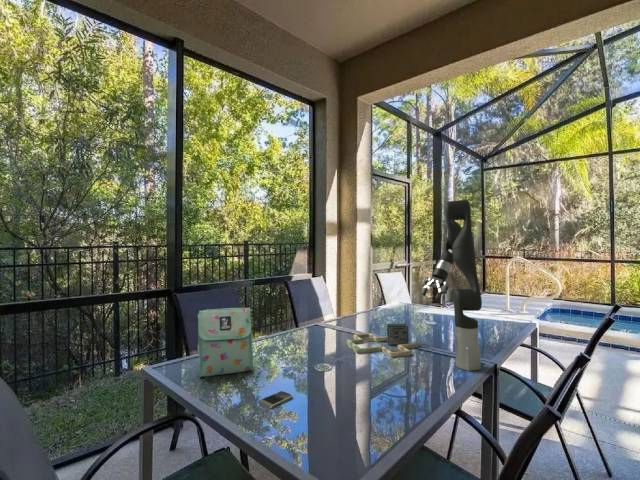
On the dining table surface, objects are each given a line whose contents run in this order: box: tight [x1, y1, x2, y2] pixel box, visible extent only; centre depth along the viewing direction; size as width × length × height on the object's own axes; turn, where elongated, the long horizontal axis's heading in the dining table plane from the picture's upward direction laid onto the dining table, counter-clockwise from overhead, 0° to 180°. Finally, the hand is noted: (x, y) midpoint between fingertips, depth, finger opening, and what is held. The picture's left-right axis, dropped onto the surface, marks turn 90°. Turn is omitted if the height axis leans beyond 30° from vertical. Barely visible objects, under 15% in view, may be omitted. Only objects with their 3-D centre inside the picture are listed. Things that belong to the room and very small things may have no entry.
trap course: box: [345, 332, 419, 358], centre depth 181 cm, size 37×33×3 cm
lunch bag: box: [197, 307, 254, 378], centre depth 149 cm, size 23×16×27 cm
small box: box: [386, 323, 409, 347], centre depth 183 cm, size 11×6×10 cm, turn 84°
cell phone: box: [258, 391, 294, 410], centre depth 118 cm, size 6×11×1 cm, turn 138°
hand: (429, 297), depth 181 cm, fingers open, 8 cm apart
